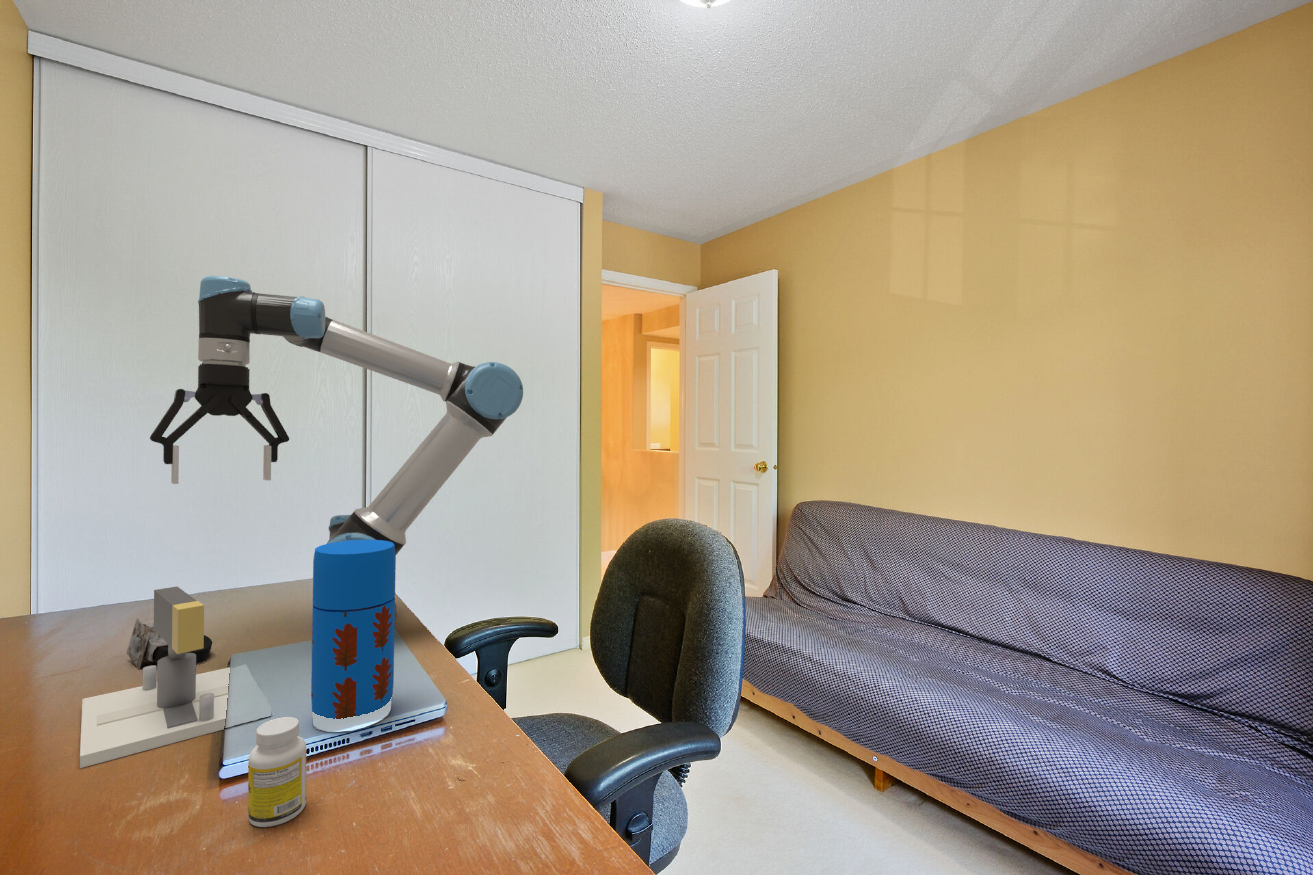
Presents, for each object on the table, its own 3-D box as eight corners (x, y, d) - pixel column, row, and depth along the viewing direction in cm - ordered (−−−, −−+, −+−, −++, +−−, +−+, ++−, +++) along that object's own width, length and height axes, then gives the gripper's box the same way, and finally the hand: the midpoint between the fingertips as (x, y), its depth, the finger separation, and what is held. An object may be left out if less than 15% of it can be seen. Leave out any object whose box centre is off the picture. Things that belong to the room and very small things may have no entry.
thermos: (408, 705, 91) (411, 543, 90) (351, 739, 80) (354, 557, 80) (353, 693, 94) (356, 537, 94) (292, 724, 84) (295, 549, 84)
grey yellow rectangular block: (153, 646, 90) (153, 589, 90) (177, 641, 92) (177, 585, 92) (177, 672, 81) (178, 609, 81) (203, 666, 83) (204, 605, 83)
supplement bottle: (265, 797, 68) (266, 713, 68) (315, 796, 68) (316, 712, 68) (236, 830, 62) (237, 738, 62) (290, 828, 63) (291, 737, 63)
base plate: (245, 672, 101) (246, 625, 101) (271, 716, 86) (272, 661, 86) (82, 708, 87) (82, 654, 87) (79, 768, 72) (80, 703, 72)
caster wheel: (213, 672, 106) (143, 683, 98) (189, 645, 112) (122, 653, 104) (223, 637, 106) (155, 645, 98) (199, 611, 112) (133, 617, 104)
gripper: (133, 356, 96) (132, 486, 96) (307, 369, 113) (306, 480, 113) (131, 359, 101) (130, 482, 102) (297, 371, 118) (296, 477, 119)
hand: (222, 481), depth 107 cm, fingers open, 13 cm apart
